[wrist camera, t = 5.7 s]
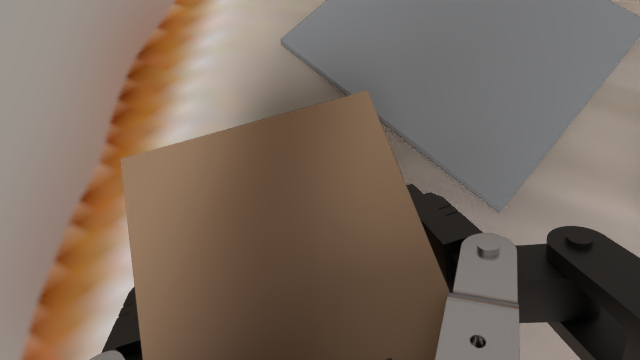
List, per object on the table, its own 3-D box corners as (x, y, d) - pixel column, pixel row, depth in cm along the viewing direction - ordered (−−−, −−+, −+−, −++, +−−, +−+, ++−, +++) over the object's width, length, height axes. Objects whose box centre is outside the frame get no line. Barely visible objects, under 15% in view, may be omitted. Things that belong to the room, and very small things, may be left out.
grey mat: (435, -88, 25) (437, -94, 24) (644, 27, 21) (650, 22, 21) (281, 44, 21) (280, 39, 21) (498, 211, 17) (501, 209, 17)
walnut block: (347, 199, 18) (367, 90, 8) (389, 320, 16) (475, 355, 6) (234, 233, 17) (120, 159, 8) (262, 362, 15) (153, 464, 6)
